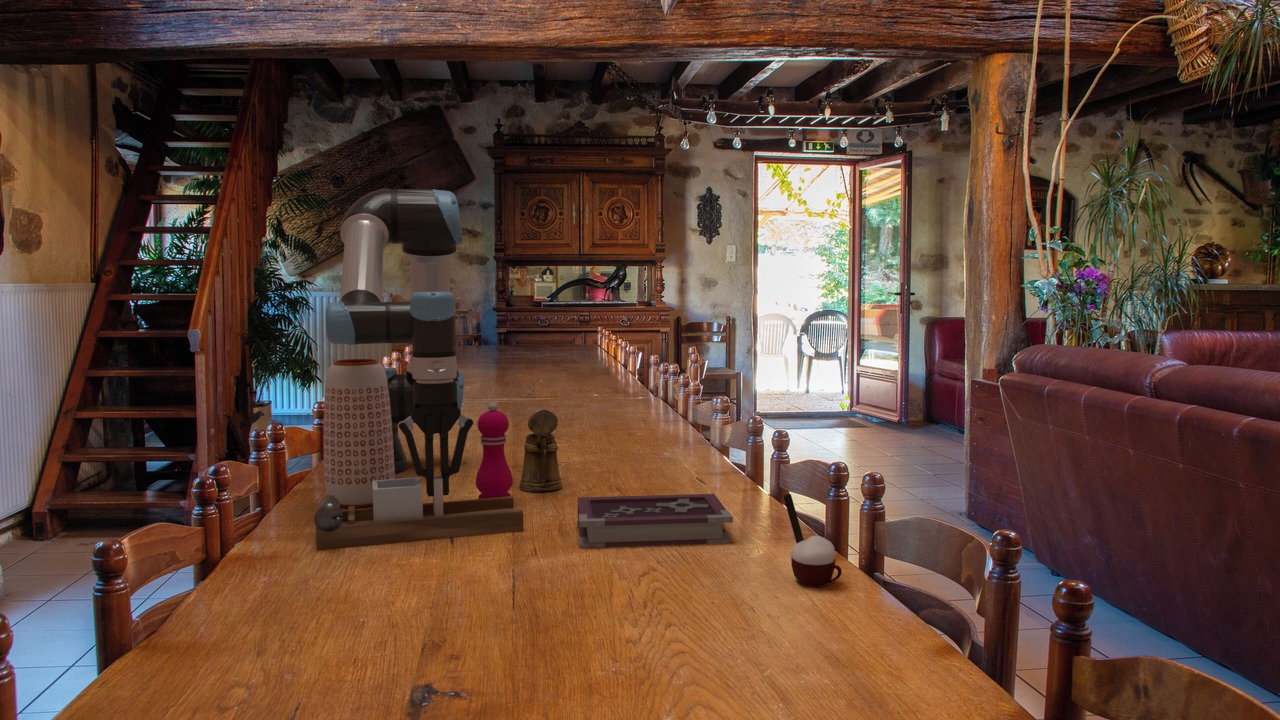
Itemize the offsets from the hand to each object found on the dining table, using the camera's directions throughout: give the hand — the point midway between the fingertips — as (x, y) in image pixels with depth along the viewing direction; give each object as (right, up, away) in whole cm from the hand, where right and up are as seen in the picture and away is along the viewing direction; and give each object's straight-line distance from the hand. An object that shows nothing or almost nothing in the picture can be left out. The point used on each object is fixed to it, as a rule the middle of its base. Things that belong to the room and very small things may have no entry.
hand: (438, 513), depth 153 cm
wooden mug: (+15, 0, +29) cm, 32 cm away
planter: (-20, -1, +19) cm, 28 cm away
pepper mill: (+7, -1, +18) cm, 19 cm away
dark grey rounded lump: (-17, -2, -7) cm, 18 cm away
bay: (-3, -3, -1) cm, 4 cm away
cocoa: (+60, -5, -27) cm, 66 cm away
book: (+37, -4, -2) cm, 38 cm away
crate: (-7, -1, -2) cm, 7 cm away
